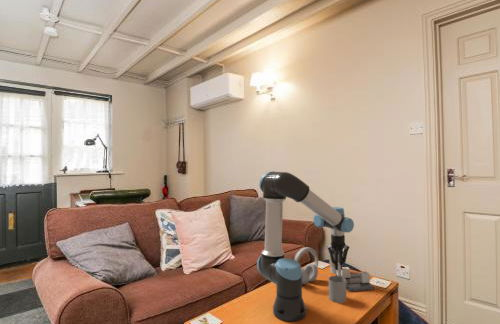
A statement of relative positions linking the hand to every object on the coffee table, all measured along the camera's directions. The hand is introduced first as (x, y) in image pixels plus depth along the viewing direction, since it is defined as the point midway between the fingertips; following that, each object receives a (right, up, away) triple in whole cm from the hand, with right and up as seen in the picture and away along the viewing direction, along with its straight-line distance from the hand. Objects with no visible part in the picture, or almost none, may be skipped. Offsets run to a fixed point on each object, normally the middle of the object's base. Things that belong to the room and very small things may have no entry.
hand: (338, 275), depth 167 cm
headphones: (-19, -4, -1) cm, 19 cm away
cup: (-7, -4, -21) cm, 22 cm away
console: (+8, -3, -3) cm, 9 cm away
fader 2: (+12, -1, -7) cm, 14 cm away
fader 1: (+4, -1, 0) cm, 4 cm away
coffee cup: (+3, -4, +14) cm, 15 cm away
